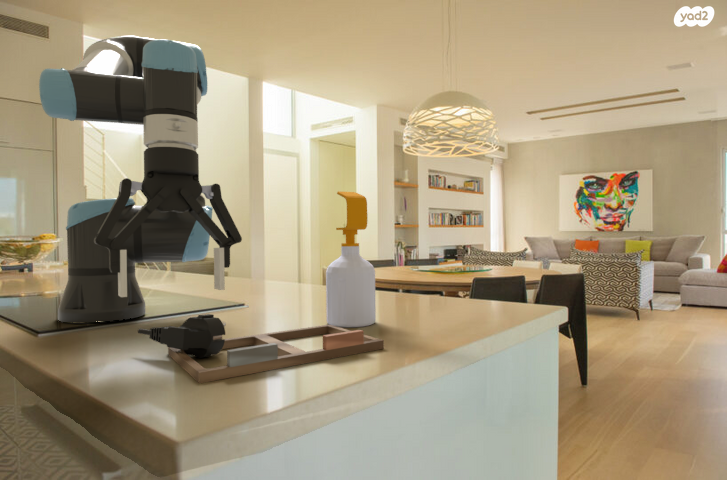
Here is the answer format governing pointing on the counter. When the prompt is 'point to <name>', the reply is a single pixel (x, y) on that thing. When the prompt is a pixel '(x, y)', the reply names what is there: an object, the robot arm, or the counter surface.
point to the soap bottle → (351, 273)
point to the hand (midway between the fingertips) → (173, 292)
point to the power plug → (192, 335)
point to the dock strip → (278, 351)
